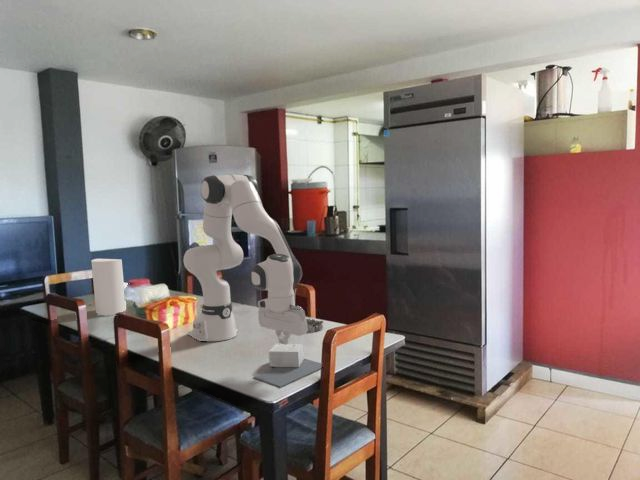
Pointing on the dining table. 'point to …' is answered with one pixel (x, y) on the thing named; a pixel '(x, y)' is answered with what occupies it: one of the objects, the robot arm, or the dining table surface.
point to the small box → (286, 355)
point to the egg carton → (313, 322)
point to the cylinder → (108, 286)
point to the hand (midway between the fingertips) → (283, 343)
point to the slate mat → (288, 373)
